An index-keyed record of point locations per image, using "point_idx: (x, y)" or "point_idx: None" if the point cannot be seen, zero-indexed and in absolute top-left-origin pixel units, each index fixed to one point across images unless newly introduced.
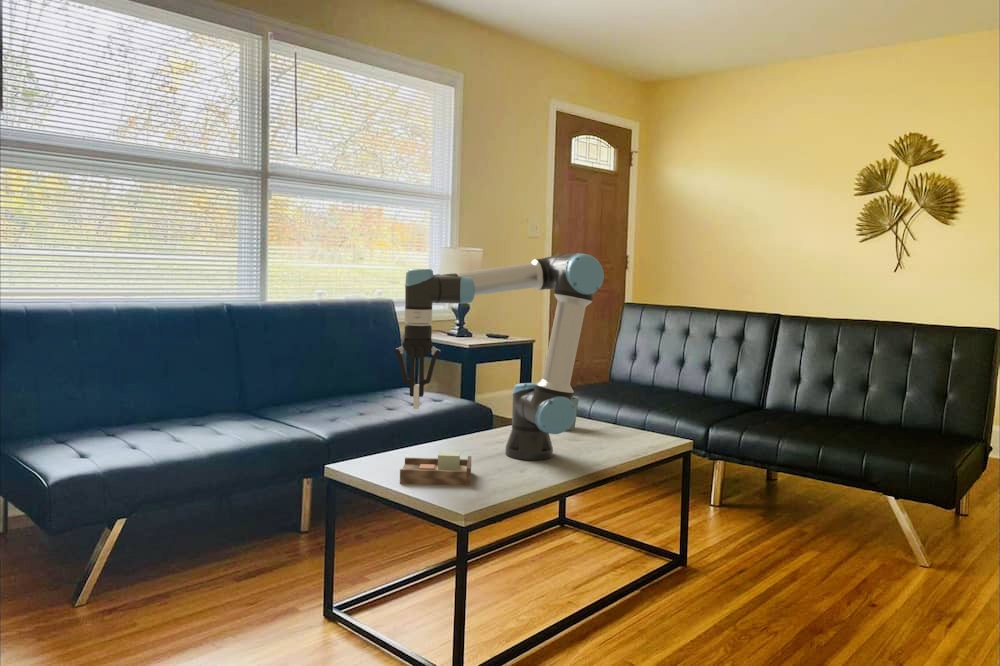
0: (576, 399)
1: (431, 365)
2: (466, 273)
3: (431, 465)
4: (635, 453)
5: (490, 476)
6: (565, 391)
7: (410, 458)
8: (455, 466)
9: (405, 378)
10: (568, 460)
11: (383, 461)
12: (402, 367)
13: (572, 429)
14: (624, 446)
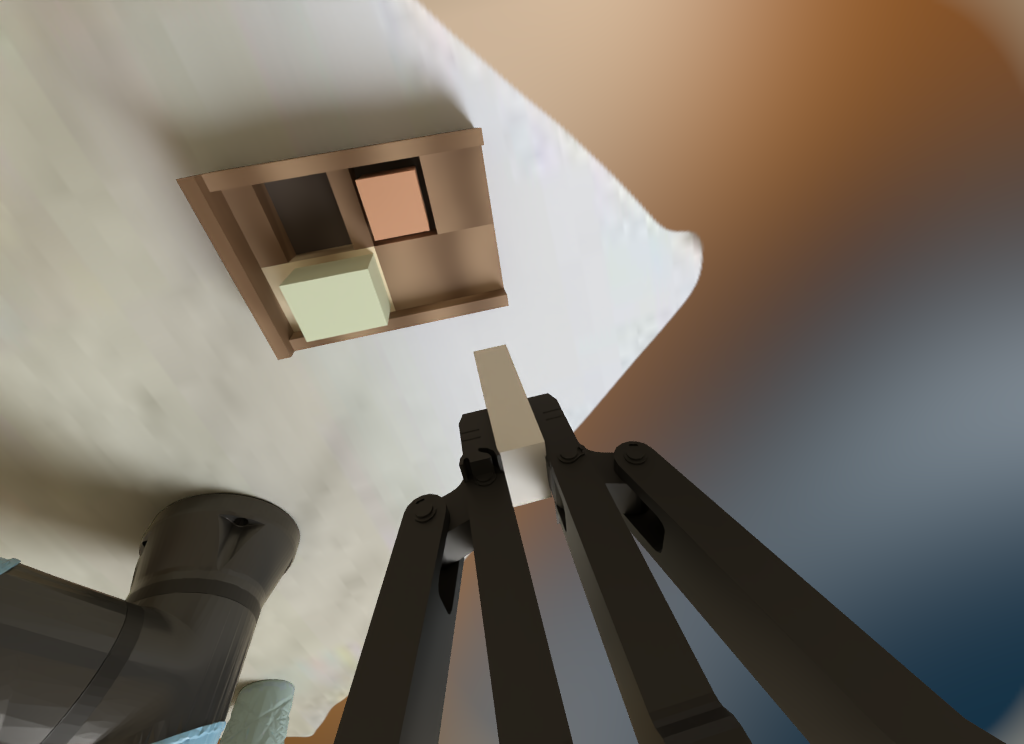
0: None
1: (375, 738)
2: None
3: (381, 222)
4: None
5: (214, 319)
6: None
7: (488, 299)
8: (305, 269)
9: (646, 473)
10: (87, 534)
11: (579, 358)
12: (756, 570)
13: (239, 693)
14: None
